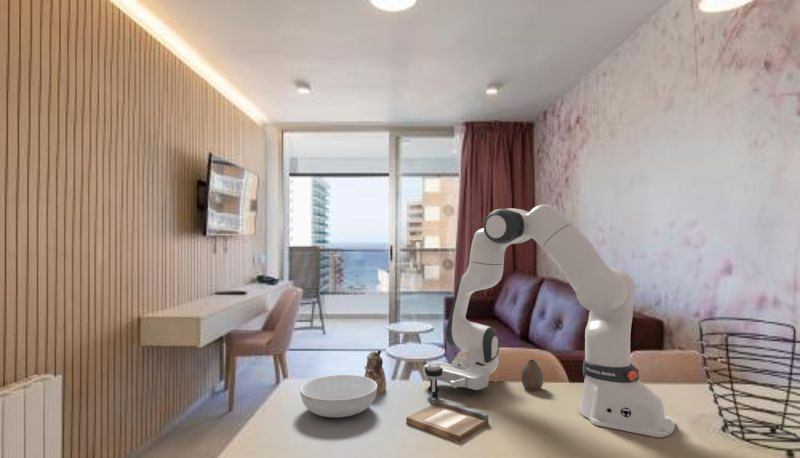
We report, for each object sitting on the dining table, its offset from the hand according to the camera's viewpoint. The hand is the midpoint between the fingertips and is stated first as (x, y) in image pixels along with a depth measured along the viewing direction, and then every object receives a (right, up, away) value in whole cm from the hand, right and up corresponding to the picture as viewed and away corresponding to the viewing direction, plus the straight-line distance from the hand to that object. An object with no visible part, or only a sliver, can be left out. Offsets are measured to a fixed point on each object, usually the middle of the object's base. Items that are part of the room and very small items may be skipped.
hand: (438, 381), depth 131 cm
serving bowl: (-28, -5, -10) cm, 30 cm away
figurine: (-19, -5, +6) cm, 21 cm away
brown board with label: (0, -5, -18) cm, 19 cm away
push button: (-2, -5, -2) cm, 6 cm away
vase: (+30, -6, +9) cm, 32 cm away
